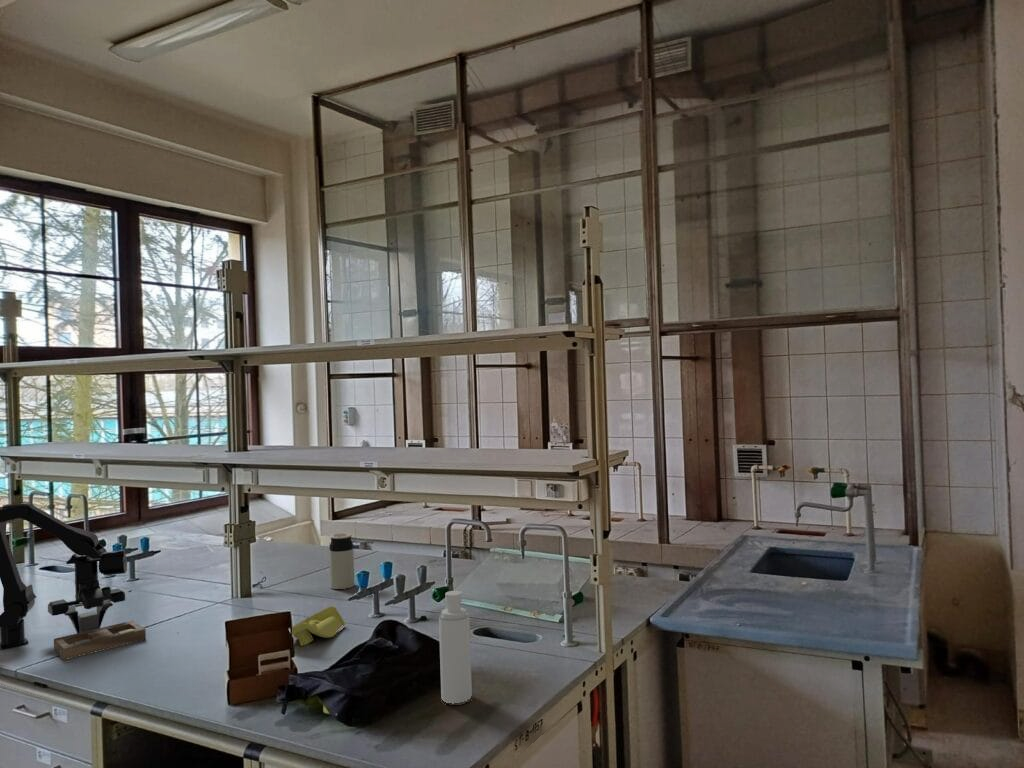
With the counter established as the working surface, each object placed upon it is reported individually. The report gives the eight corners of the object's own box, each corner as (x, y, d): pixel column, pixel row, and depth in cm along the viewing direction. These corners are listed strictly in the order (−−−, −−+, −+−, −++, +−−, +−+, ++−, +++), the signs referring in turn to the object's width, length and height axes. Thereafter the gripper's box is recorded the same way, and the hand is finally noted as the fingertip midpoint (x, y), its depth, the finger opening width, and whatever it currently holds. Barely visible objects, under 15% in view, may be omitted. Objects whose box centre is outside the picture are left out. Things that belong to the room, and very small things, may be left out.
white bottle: (464, 690, 165) (460, 579, 165) (477, 701, 159) (473, 586, 159) (436, 697, 162) (433, 584, 162) (448, 708, 156) (445, 591, 156)
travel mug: (333, 591, 248) (331, 538, 248) (328, 585, 256) (327, 534, 255) (356, 588, 252) (355, 535, 251) (351, 582, 259) (350, 531, 259)
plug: (77, 635, 212) (77, 614, 212) (94, 631, 215) (94, 610, 215) (82, 638, 208) (81, 617, 208) (99, 634, 211) (98, 614, 211)
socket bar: (54, 649, 200) (53, 637, 200) (133, 630, 214) (132, 619, 214) (64, 660, 192) (63, 647, 192) (145, 639, 206) (145, 627, 206)
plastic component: (307, 617, 214) (336, 603, 213) (318, 641, 213) (347, 626, 212) (276, 636, 194) (308, 620, 193) (287, 662, 193) (320, 646, 192)
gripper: (56, 589, 199) (58, 646, 199) (130, 575, 212) (132, 629, 212) (46, 582, 207) (48, 637, 207) (118, 569, 220) (120, 620, 220)
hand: (88, 631), depth 212 cm, fingers open, 5 cm apart
